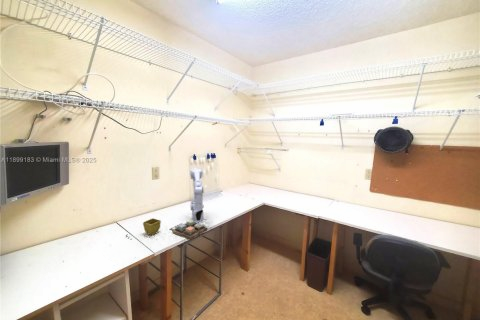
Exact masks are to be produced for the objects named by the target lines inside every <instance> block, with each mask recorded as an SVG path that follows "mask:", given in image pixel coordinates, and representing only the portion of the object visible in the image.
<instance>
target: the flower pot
mask: <svg viewBox="0 0 480 320" xmlns="http://www.w3.org/2000/svg"><path fill="white" fill-rule="evenodd" d="M161 223H162V221H161V219H157V218H150V219H148V220H146V221H143V222H142V225H143V229H144V231H145V233H146V234H147V235H150V236H154V235H155V234H157V233H158V232H159V231H160V230H161V229H160V228H161Z"/></svg>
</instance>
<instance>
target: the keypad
mask: <svg viewBox="0 0 480 320" xmlns="http://www.w3.org/2000/svg"><path fill="white" fill-rule="evenodd" d="M183 224H184V225H186V228H188V227H190V225H187V224H186V223H183ZM196 224H198V223H195V224H193V225H191V227H194V225H196ZM202 225H203V226H202V227H200V228H197V227H194V228H195V231H193V232H191V233H188V232H186V228H185V229H183V230H180V229H178V228H176V229H175V230H173V231H172V230H171V231H172V233H171V234H173V235H176V236H179V237H181V238H183V239H186V240H189V241H192V240H193V239H195V238H197V237H199V236H200V235H201V234H203V233H205V232H206V231H208V227H207V226H205V225H204V224H202Z"/></svg>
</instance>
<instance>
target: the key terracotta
mask: <svg viewBox="0 0 480 320" xmlns="http://www.w3.org/2000/svg"><path fill="white" fill-rule="evenodd" d="M193 231H195V228H194V227H191V226H190V227H188V228H186V232H188V233H191V232H193Z"/></svg>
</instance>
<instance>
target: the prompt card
mask: <svg viewBox="0 0 480 320" xmlns="http://www.w3.org/2000/svg"><path fill="white" fill-rule="evenodd" d="M180 224H183V223H182V222H181V223H179V224H177V225H175V226H173V227H170V228H169V231H173V230H175V229H176V228H178V225H180Z"/></svg>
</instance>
